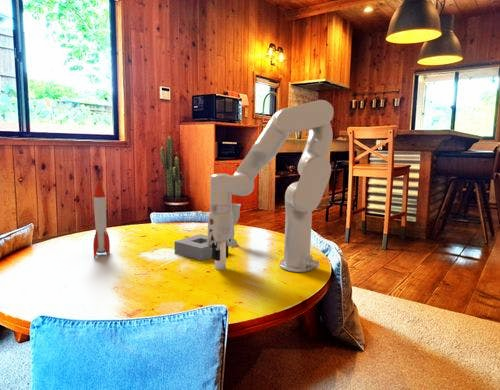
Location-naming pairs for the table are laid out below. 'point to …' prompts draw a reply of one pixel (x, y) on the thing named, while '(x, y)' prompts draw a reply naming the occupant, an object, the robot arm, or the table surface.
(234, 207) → the chalice
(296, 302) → the table surface
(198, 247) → the socket block
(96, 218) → the toy rocket
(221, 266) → the peg
